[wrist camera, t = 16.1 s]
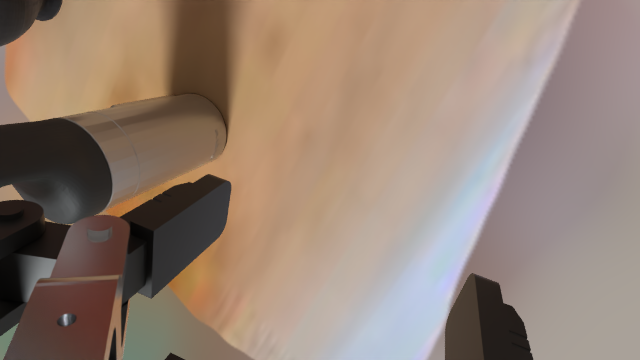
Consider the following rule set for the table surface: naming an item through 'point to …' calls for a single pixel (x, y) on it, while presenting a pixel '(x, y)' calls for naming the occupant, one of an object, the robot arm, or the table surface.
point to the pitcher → (23, 16)
